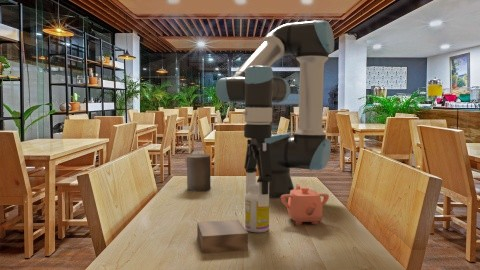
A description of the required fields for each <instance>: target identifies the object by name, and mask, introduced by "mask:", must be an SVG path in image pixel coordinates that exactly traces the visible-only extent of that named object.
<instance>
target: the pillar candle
mask: <svg viewBox="0 0 480 270" xmlns="http://www.w3.org/2000/svg"><path fill="white" fill-rule="evenodd" d="M211 183H212V182H211V155H210V154H206V153H205V154H204V153H200V152H198V153H197V154H189V155H186V188H187V190H188V191H191V192H201V191H209V190H211V189H212V187H211Z"/></svg>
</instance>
